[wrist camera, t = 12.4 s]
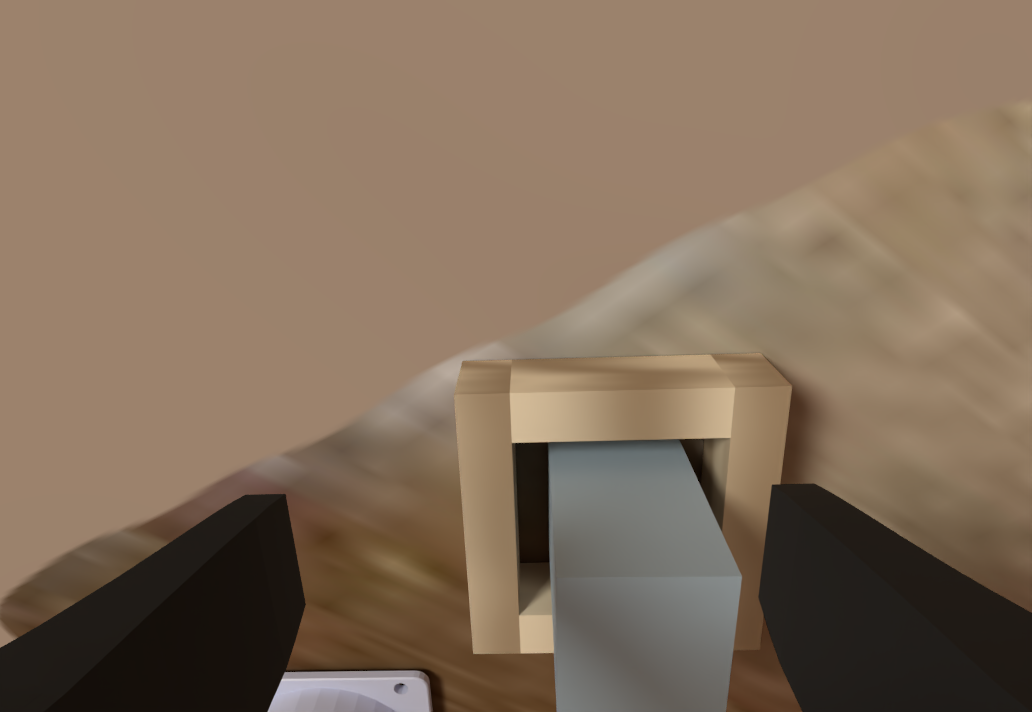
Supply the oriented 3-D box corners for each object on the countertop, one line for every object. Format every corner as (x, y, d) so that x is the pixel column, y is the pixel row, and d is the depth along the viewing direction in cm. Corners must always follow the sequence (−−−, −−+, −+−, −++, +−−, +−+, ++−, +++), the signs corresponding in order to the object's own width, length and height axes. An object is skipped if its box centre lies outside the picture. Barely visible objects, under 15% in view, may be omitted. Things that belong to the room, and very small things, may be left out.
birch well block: (478, 598, 23) (473, 653, 21) (462, 360, 20) (453, 394, 18) (735, 594, 23) (759, 650, 20) (760, 353, 20) (792, 386, 17)
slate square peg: (548, 536, 22) (557, 714, 16) (547, 430, 21) (556, 577, 14) (667, 535, 22) (725, 713, 16) (674, 428, 21) (742, 576, 14)
